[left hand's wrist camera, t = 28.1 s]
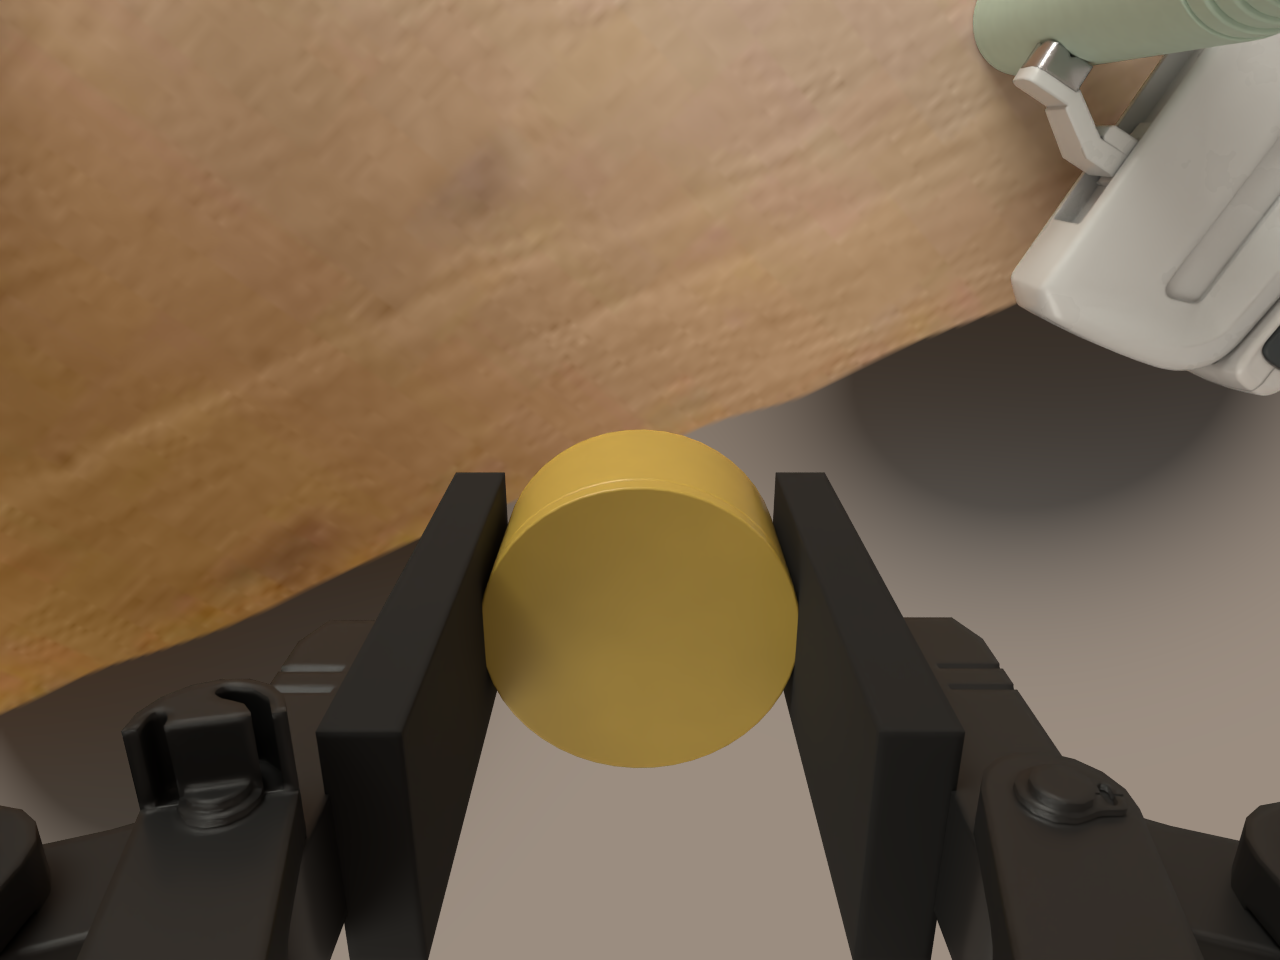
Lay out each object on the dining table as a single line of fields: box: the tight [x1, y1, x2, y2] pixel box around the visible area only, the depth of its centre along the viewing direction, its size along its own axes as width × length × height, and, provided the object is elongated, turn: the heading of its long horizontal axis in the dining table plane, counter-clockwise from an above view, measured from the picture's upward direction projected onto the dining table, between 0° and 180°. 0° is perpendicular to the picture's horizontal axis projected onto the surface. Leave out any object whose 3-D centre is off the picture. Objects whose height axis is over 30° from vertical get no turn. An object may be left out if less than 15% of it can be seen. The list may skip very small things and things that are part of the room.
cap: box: [482, 430, 798, 768], centre depth 13 cm, size 4×4×2 cm
